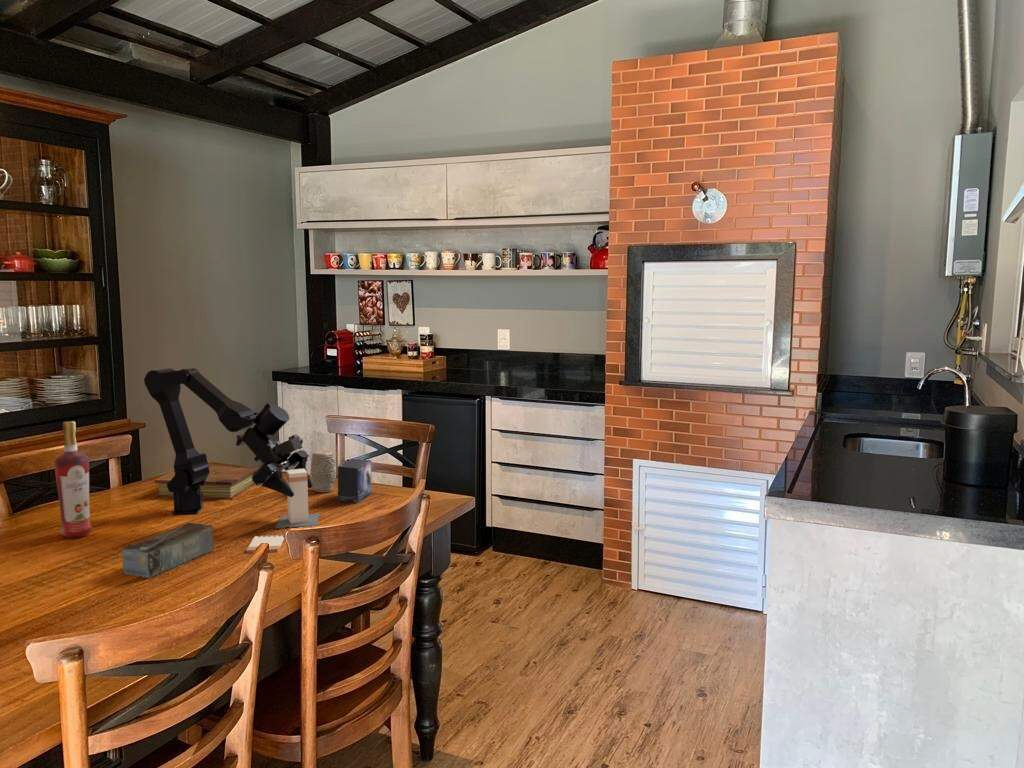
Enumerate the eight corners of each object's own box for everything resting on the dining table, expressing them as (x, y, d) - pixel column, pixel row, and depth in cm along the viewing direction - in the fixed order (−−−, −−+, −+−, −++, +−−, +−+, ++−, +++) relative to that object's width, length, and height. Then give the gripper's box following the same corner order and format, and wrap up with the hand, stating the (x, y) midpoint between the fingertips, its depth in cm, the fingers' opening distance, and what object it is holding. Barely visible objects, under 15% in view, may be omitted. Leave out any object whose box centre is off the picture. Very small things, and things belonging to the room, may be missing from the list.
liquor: (88, 528, 191) (81, 418, 188) (97, 535, 186) (90, 422, 183) (55, 535, 186) (47, 422, 183) (64, 542, 181) (55, 426, 177)
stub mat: (275, 528, 192) (275, 526, 192) (281, 516, 202) (281, 515, 202) (315, 527, 194) (315, 525, 194) (320, 515, 203) (320, 513, 203)
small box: (358, 504, 214) (357, 467, 213) (337, 502, 216) (336, 466, 214) (372, 494, 225) (372, 459, 223) (352, 492, 226) (351, 458, 225)
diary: (259, 485, 237) (258, 466, 236) (232, 501, 218) (231, 482, 217) (187, 482, 238) (187, 464, 238) (155, 498, 220) (154, 479, 219)
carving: (333, 493, 225) (332, 453, 223) (307, 493, 225) (306, 453, 223) (338, 488, 231) (337, 449, 229) (313, 487, 231) (312, 449, 229)
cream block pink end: (277, 551, 176) (277, 548, 175) (246, 553, 175) (245, 550, 175) (284, 537, 185) (284, 534, 185) (254, 538, 184) (254, 535, 184)
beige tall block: (290, 523, 195) (288, 474, 193) (287, 518, 199) (286, 470, 197) (308, 521, 197) (307, 472, 195) (305, 516, 201) (304, 468, 199)
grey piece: (120, 574, 162) (119, 544, 161) (190, 546, 179) (188, 519, 179) (149, 580, 159) (147, 549, 158) (216, 551, 176) (215, 523, 176)
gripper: (260, 433, 187) (302, 480, 185) (301, 420, 205) (339, 463, 203) (234, 462, 190) (274, 509, 188) (276, 447, 208) (313, 489, 206)
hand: (302, 491), depth 196 cm, fingers open, 9 cm apart
